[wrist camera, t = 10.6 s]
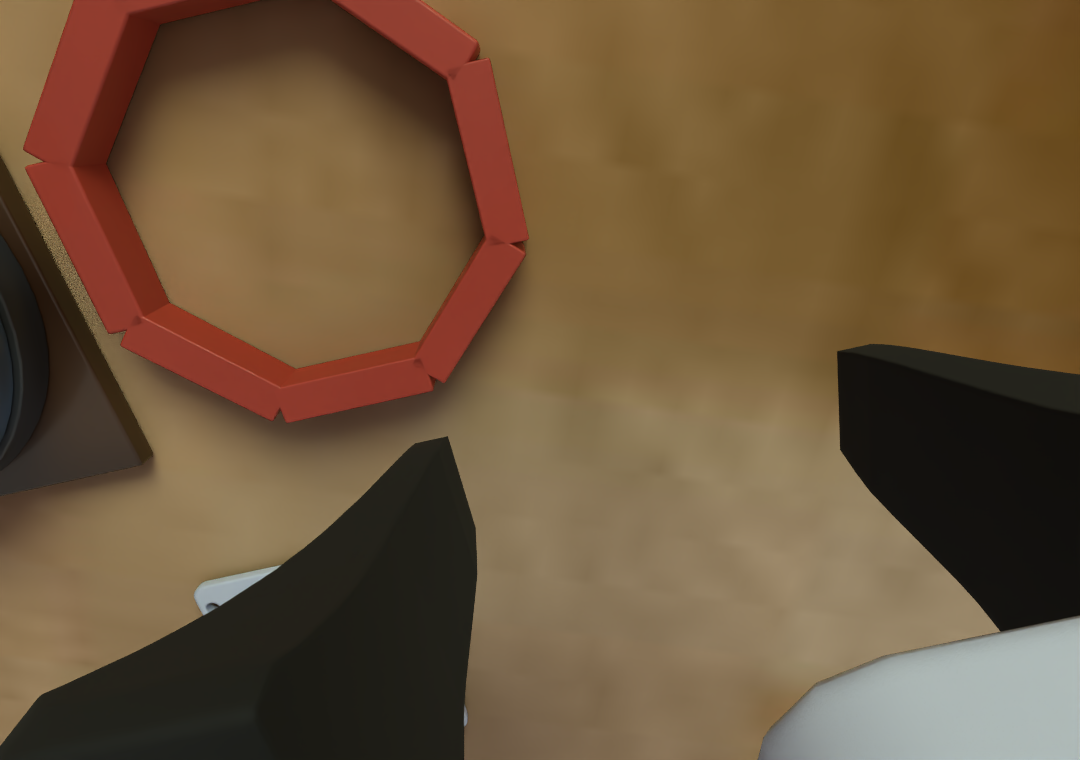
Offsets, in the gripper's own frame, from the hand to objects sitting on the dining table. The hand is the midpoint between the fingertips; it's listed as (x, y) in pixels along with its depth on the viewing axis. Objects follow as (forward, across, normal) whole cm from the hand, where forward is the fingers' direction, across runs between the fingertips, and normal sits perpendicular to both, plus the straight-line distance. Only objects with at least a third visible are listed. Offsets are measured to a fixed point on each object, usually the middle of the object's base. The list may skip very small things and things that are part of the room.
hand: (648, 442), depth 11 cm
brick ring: (+9, +8, -5) cm, 13 cm away
